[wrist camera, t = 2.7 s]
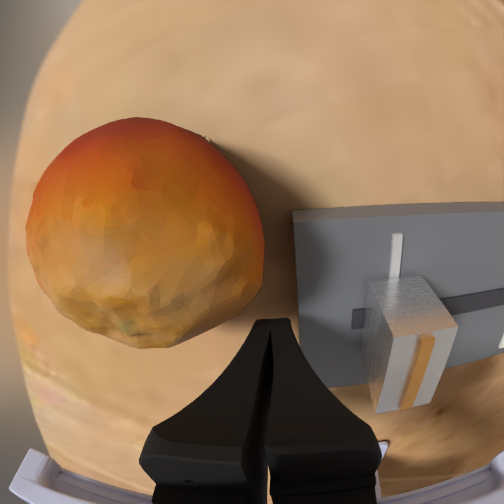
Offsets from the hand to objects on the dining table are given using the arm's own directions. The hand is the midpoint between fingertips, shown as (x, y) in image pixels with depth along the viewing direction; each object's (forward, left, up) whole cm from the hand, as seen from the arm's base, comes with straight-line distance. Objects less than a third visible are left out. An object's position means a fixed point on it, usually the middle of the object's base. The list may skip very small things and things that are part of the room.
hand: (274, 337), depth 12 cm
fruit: (+5, +4, -3) cm, 7 cm away
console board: (0, -9, -2) cm, 9 cm away
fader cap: (0, -5, -1) cm, 5 cm away
